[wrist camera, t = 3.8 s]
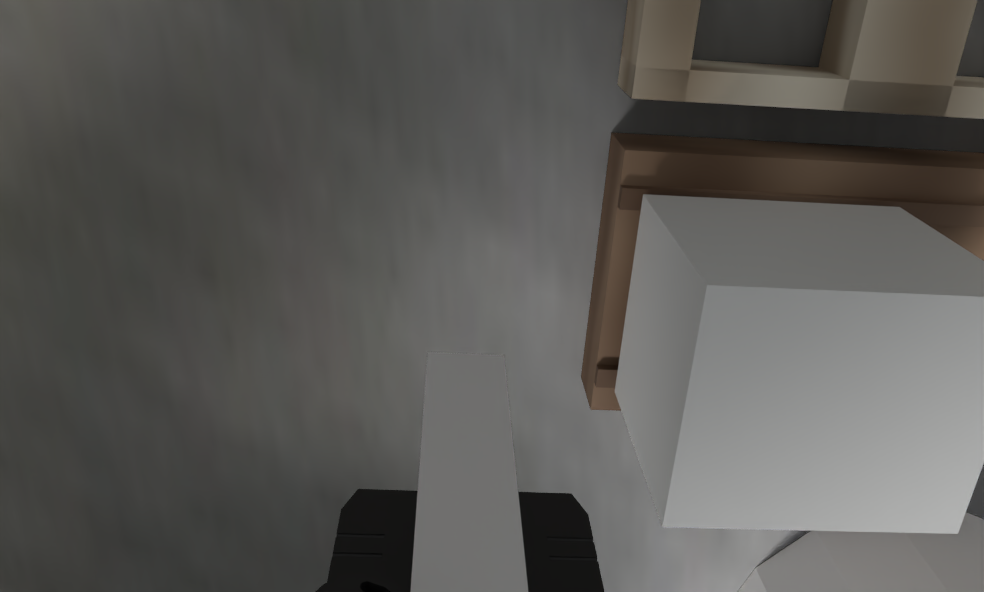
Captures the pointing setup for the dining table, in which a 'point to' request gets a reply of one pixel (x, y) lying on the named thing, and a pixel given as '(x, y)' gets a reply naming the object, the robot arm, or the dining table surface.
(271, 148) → the dining table surface
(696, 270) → the block
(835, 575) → the container
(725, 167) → the walnut board
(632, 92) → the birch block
